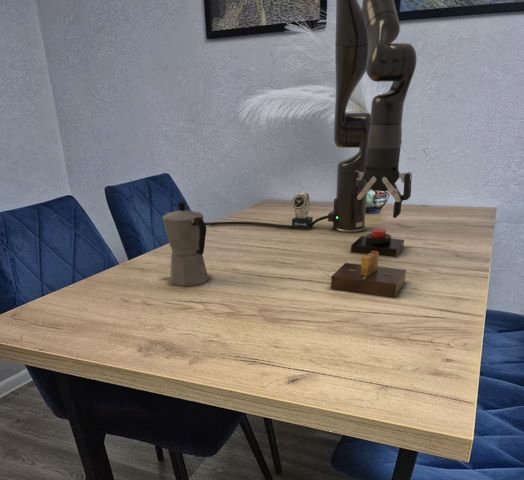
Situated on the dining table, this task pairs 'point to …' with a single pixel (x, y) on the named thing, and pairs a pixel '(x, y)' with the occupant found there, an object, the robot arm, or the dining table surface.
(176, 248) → the coffeepot
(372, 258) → the thumbturn
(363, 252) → the alarm box
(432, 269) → the dining table surface
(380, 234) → the arm button
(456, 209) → the dining table surface
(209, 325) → the dining table surface
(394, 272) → the plate
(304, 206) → the watch
